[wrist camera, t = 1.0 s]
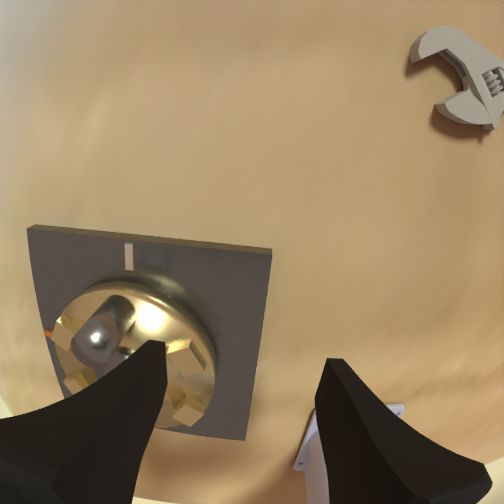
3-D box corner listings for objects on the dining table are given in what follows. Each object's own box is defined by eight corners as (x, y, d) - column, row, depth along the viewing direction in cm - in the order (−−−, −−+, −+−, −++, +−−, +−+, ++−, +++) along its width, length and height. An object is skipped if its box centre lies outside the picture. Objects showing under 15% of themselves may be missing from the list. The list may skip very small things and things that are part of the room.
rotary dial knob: (214, 421, 21) (205, 483, 16) (82, 394, 21) (53, 442, 16) (221, 294, 18) (207, 356, 12) (55, 270, 17) (1, 311, 12)
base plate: (245, 431, 23) (244, 442, 22) (70, 396, 23) (65, 405, 22) (271, 248, 18) (272, 255, 17) (35, 224, 18) (25, 229, 17)
